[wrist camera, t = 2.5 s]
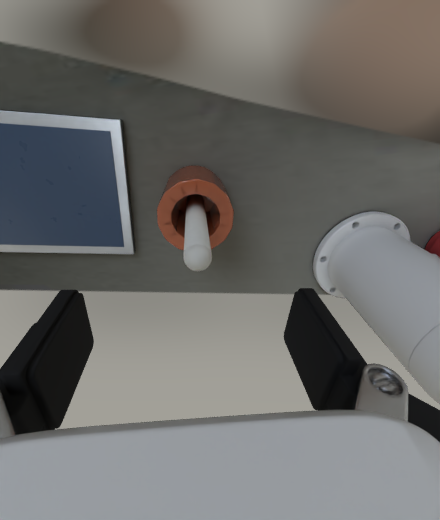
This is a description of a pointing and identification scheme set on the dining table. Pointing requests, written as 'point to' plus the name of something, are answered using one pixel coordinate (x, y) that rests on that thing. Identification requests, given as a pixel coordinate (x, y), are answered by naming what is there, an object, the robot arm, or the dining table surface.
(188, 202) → the stylus
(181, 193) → the holder
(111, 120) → the tablet
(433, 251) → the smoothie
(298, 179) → the dining table surface
